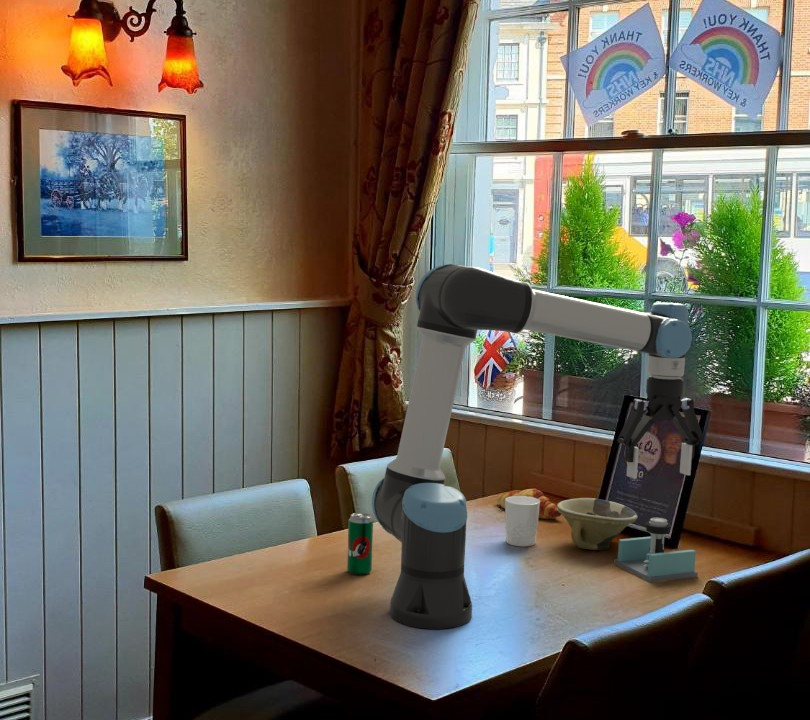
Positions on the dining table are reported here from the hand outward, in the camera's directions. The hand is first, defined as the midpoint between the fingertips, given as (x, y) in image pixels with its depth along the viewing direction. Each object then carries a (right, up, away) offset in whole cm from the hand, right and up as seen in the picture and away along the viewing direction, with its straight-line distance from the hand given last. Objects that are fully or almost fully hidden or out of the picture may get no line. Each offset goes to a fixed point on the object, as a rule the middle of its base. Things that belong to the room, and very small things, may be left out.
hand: (658, 475), depth 225 cm
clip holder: (0, -20, +2) cm, 20 cm away
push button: (-1, -20, +1) cm, 20 cm away
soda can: (-63, -19, -6) cm, 66 cm away
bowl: (-10, -18, +17) cm, 27 cm away
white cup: (-27, -18, +19) cm, 37 cm away
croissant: (-22, -15, +46) cm, 53 cm away
